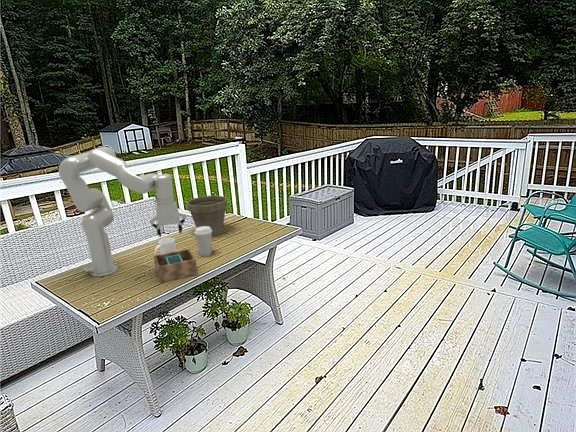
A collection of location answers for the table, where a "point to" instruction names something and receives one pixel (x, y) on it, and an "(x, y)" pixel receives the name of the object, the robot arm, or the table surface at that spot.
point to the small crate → (173, 259)
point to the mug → (166, 246)
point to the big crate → (175, 266)
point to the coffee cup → (204, 240)
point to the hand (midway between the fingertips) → (170, 234)
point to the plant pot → (208, 212)
